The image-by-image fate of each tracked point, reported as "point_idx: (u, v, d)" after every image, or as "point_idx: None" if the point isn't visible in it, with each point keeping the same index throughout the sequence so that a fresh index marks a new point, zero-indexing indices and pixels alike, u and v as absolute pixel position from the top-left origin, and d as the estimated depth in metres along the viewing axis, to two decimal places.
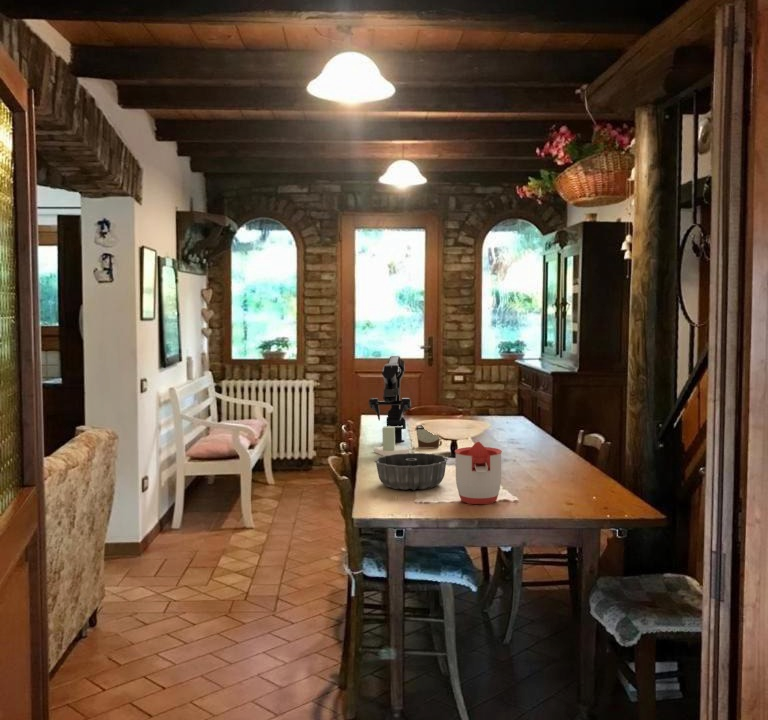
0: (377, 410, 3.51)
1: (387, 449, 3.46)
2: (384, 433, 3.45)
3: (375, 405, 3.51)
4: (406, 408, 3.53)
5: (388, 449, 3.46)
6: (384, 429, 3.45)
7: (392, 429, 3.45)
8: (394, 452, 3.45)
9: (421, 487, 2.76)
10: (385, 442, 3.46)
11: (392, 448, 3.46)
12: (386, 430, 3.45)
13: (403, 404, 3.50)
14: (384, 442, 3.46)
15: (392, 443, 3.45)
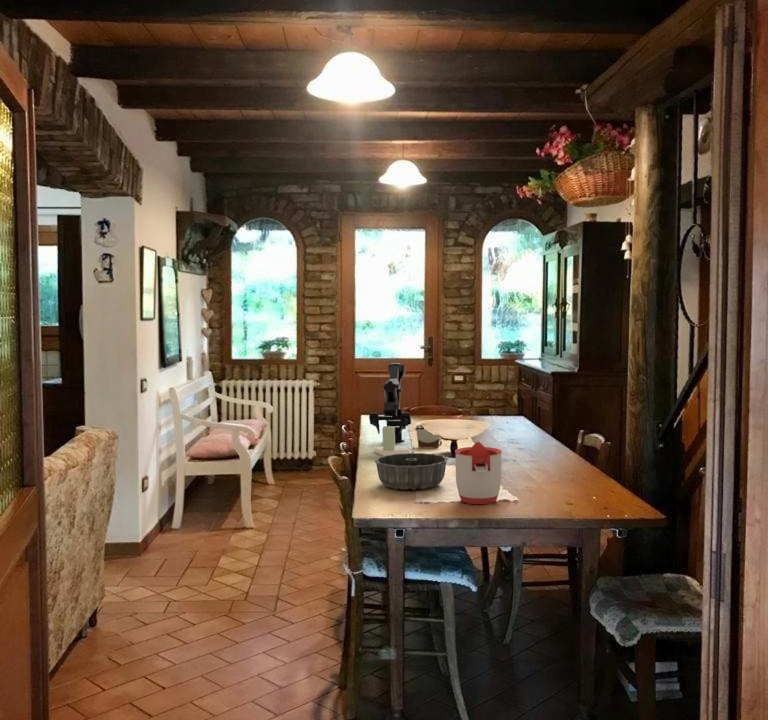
0: (377, 424, 3.51)
1: (387, 449, 3.46)
2: (384, 433, 3.45)
3: (375, 419, 3.52)
4: (406, 423, 3.53)
5: (388, 449, 3.46)
6: (384, 429, 3.45)
7: (392, 429, 3.45)
8: (394, 452, 3.45)
9: (421, 487, 2.76)
10: (385, 442, 3.46)
11: (392, 448, 3.46)
12: (386, 430, 3.45)
13: (403, 418, 3.50)
14: (384, 442, 3.46)
15: (392, 443, 3.45)
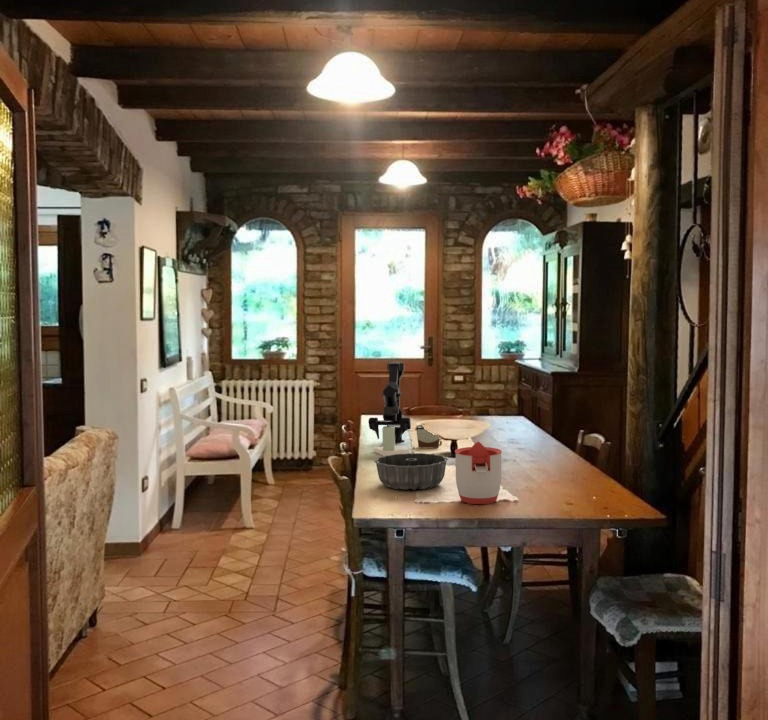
0: (376, 429, 3.49)
1: (387, 449, 3.46)
2: (384, 433, 3.45)
3: (374, 424, 3.50)
4: (406, 428, 3.51)
5: (388, 449, 3.46)
6: (384, 429, 3.45)
7: (392, 429, 3.45)
8: (394, 452, 3.45)
9: (421, 487, 2.76)
10: (385, 442, 3.46)
11: (392, 448, 3.46)
12: (386, 430, 3.45)
13: (403, 423, 3.48)
14: (384, 442, 3.46)
15: (392, 443, 3.45)
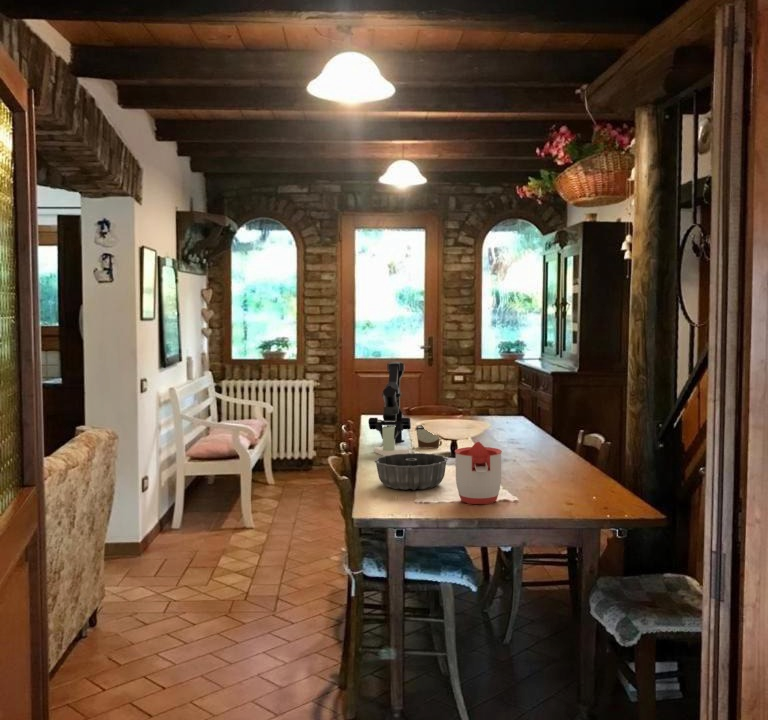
0: (381, 429, 3.49)
1: (387, 449, 3.46)
2: (384, 433, 3.45)
3: (379, 424, 3.49)
4: (401, 428, 3.51)
5: (388, 449, 3.46)
6: (384, 429, 3.45)
7: (392, 429, 3.45)
8: (394, 452, 3.45)
9: (421, 487, 2.76)
10: (385, 442, 3.46)
11: (392, 448, 3.46)
12: (386, 430, 3.45)
13: (398, 423, 3.48)
14: (384, 442, 3.46)
15: (392, 443, 3.45)
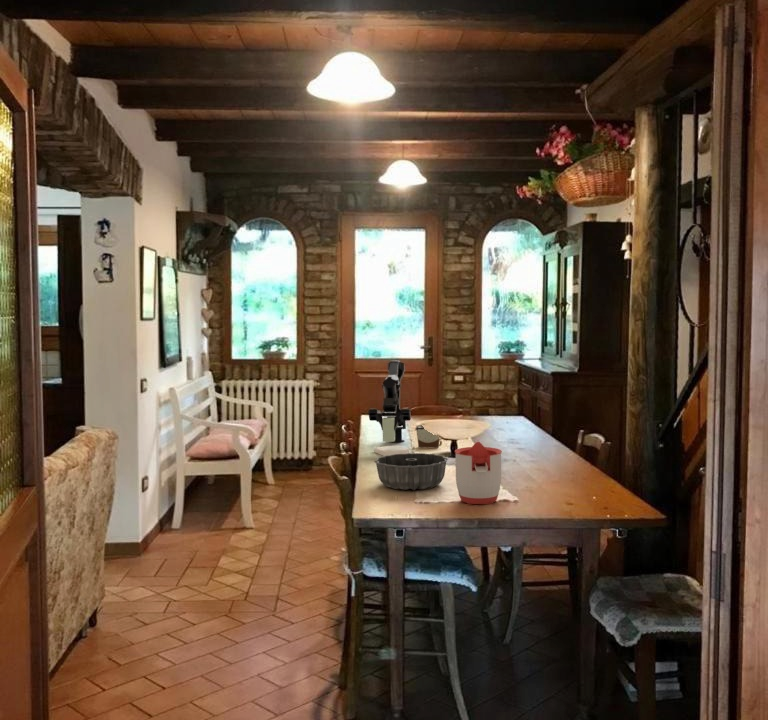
0: (381, 420, 3.49)
1: (387, 440, 3.46)
2: (384, 424, 3.46)
3: (379, 415, 3.49)
4: (401, 419, 3.51)
5: (388, 440, 3.46)
6: (384, 420, 3.45)
7: (392, 420, 3.45)
8: (394, 452, 3.45)
9: (421, 487, 2.76)
10: (384, 433, 3.46)
11: (392, 439, 3.46)
12: (386, 421, 3.45)
13: (398, 414, 3.48)
14: (384, 433, 3.46)
15: (392, 434, 3.45)
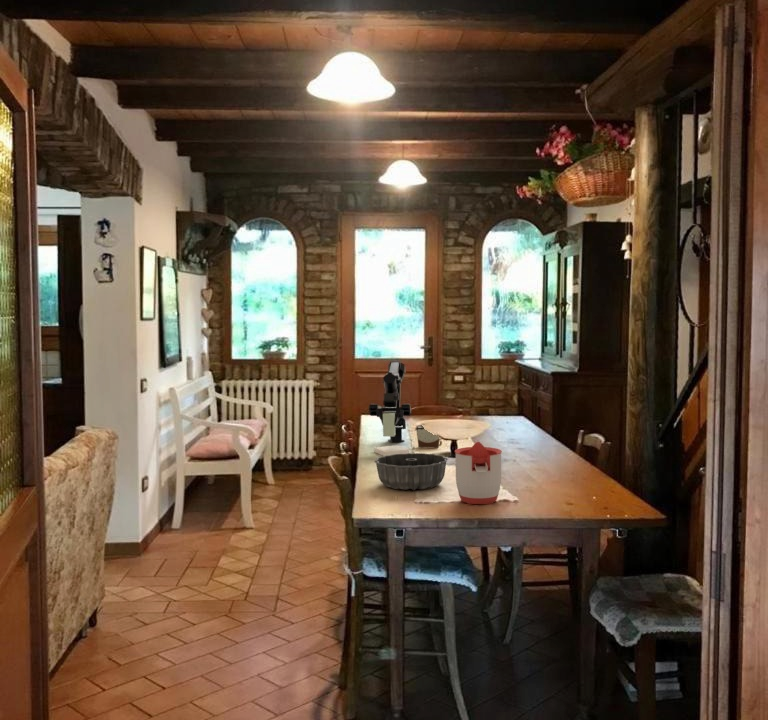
0: (381, 415, 3.51)
1: (387, 435, 3.48)
2: (384, 419, 3.47)
3: (379, 410, 3.51)
4: (402, 414, 3.53)
5: (389, 434, 3.48)
6: (384, 415, 3.47)
7: (392, 415, 3.47)
8: (394, 452, 3.45)
9: (421, 487, 2.76)
10: (385, 428, 3.48)
11: (392, 434, 3.47)
12: (386, 416, 3.47)
13: (399, 409, 3.50)
14: (384, 428, 3.48)
15: (392, 429, 3.47)
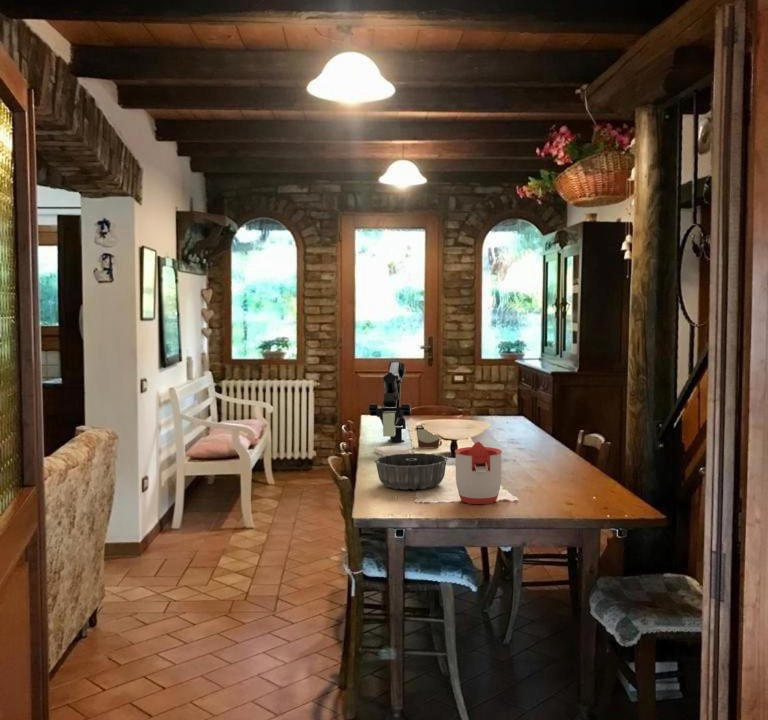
0: (381, 415, 3.51)
1: (387, 435, 3.48)
2: (384, 419, 3.47)
3: (379, 410, 3.51)
4: (402, 414, 3.53)
5: (389, 434, 3.48)
6: (384, 415, 3.47)
7: (392, 415, 3.47)
8: (394, 452, 3.45)
9: (421, 487, 2.76)
10: (385, 428, 3.48)
11: (392, 434, 3.47)
12: (386, 416, 3.47)
13: (399, 409, 3.50)
14: (384, 428, 3.48)
15: (392, 429, 3.47)
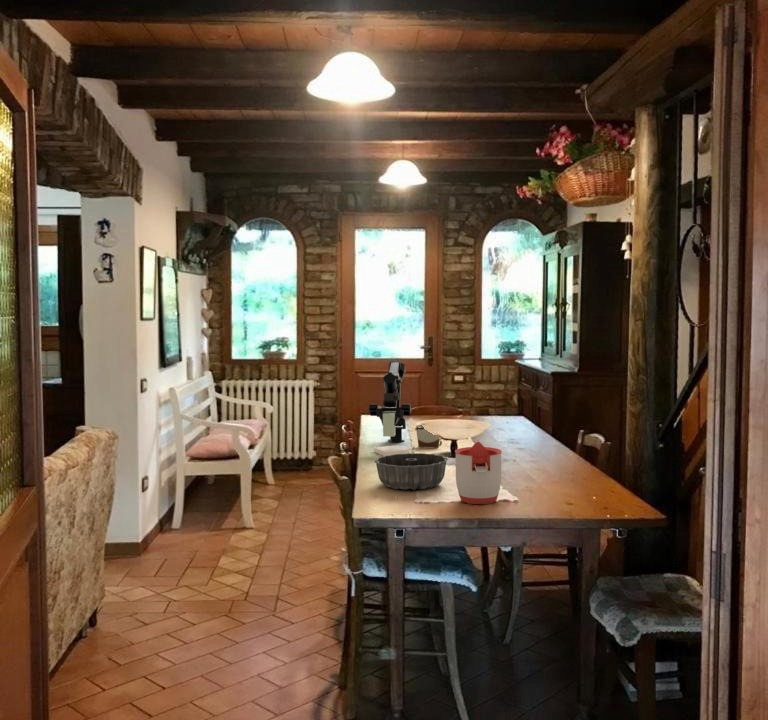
0: (381, 415, 3.51)
1: (387, 435, 3.48)
2: (384, 419, 3.47)
3: (379, 410, 3.51)
4: (402, 414, 3.53)
5: (389, 434, 3.48)
6: (384, 415, 3.47)
7: (392, 415, 3.47)
8: (394, 452, 3.45)
9: (421, 487, 2.76)
10: (385, 428, 3.48)
11: (392, 434, 3.47)
12: (386, 416, 3.47)
13: (399, 409, 3.50)
14: (384, 428, 3.48)
15: (392, 429, 3.47)
